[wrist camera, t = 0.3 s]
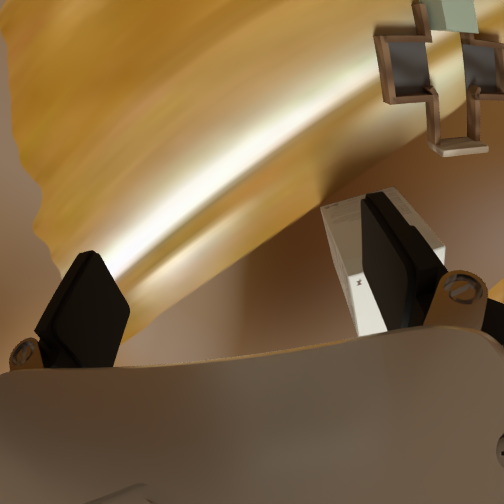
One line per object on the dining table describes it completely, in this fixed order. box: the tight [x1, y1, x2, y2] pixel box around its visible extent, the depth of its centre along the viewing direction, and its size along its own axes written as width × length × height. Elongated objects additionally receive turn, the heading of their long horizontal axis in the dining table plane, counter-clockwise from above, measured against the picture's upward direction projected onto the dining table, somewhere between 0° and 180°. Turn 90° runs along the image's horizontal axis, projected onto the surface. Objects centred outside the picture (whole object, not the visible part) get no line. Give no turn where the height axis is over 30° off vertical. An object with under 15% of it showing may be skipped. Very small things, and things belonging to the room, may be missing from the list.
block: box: [420, 0, 479, 34], centre depth 28 cm, size 6×6×6 cm
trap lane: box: [373, 4, 504, 157], centre depth 34 cm, size 23×24×5 cm
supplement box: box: [320, 187, 445, 337], centre depth 45 cm, size 13×13×18 cm
